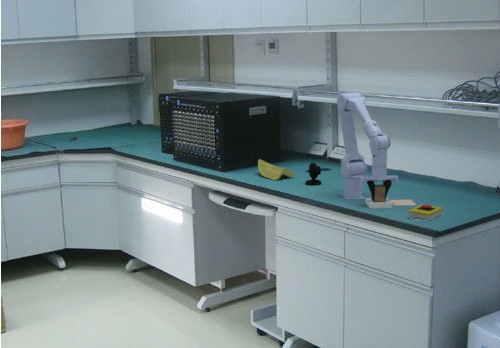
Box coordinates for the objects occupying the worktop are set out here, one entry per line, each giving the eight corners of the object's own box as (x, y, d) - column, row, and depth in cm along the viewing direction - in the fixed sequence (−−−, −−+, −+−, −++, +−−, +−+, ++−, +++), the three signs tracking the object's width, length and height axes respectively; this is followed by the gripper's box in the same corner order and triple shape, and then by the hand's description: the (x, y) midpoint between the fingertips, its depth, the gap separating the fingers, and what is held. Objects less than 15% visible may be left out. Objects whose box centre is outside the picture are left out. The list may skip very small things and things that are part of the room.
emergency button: (445, 204, 259) (427, 212, 248) (445, 215, 260) (427, 223, 249) (423, 200, 265) (404, 208, 254) (422, 211, 266) (404, 219, 255)
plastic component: (296, 173, 330) (282, 166, 324) (290, 187, 330) (276, 181, 324) (270, 164, 345) (256, 158, 339) (265, 177, 345) (251, 171, 339)
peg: (372, 204, 275) (372, 184, 273) (382, 203, 275) (382, 184, 273) (374, 206, 271) (375, 187, 269) (384, 206, 271) (385, 186, 269)
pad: (388, 201, 280) (388, 200, 280) (410, 200, 281) (410, 199, 281) (394, 207, 272) (394, 205, 272) (416, 206, 272) (416, 204, 272)
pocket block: (365, 204, 277) (365, 198, 277) (387, 203, 277) (387, 197, 277) (369, 209, 268) (370, 203, 268) (392, 209, 269) (392, 202, 268)
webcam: (324, 184, 313) (324, 163, 311) (308, 186, 311) (308, 164, 309) (317, 181, 321) (317, 160, 319) (302, 182, 319) (302, 161, 317)
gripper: (363, 168, 265) (362, 202, 268) (400, 167, 266) (399, 201, 269) (359, 164, 272) (359, 197, 275) (395, 163, 273) (394, 196, 276)
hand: (378, 199), depth 272 cm, fingers closed on peg, 4 cm apart
